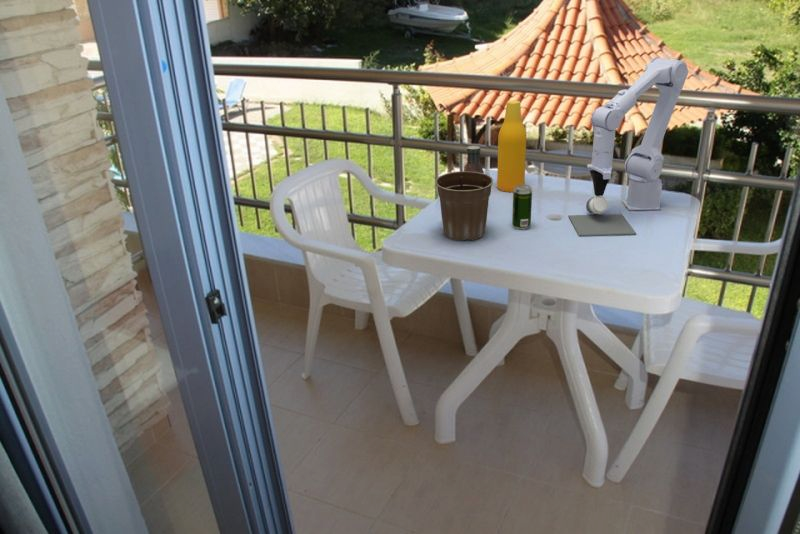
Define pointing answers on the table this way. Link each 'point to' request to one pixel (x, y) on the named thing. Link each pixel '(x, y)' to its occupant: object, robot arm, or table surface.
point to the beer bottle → (511, 149)
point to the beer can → (522, 207)
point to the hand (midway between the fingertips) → (598, 195)
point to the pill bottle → (596, 205)
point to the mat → (601, 225)
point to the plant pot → (464, 203)
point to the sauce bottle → (473, 160)
